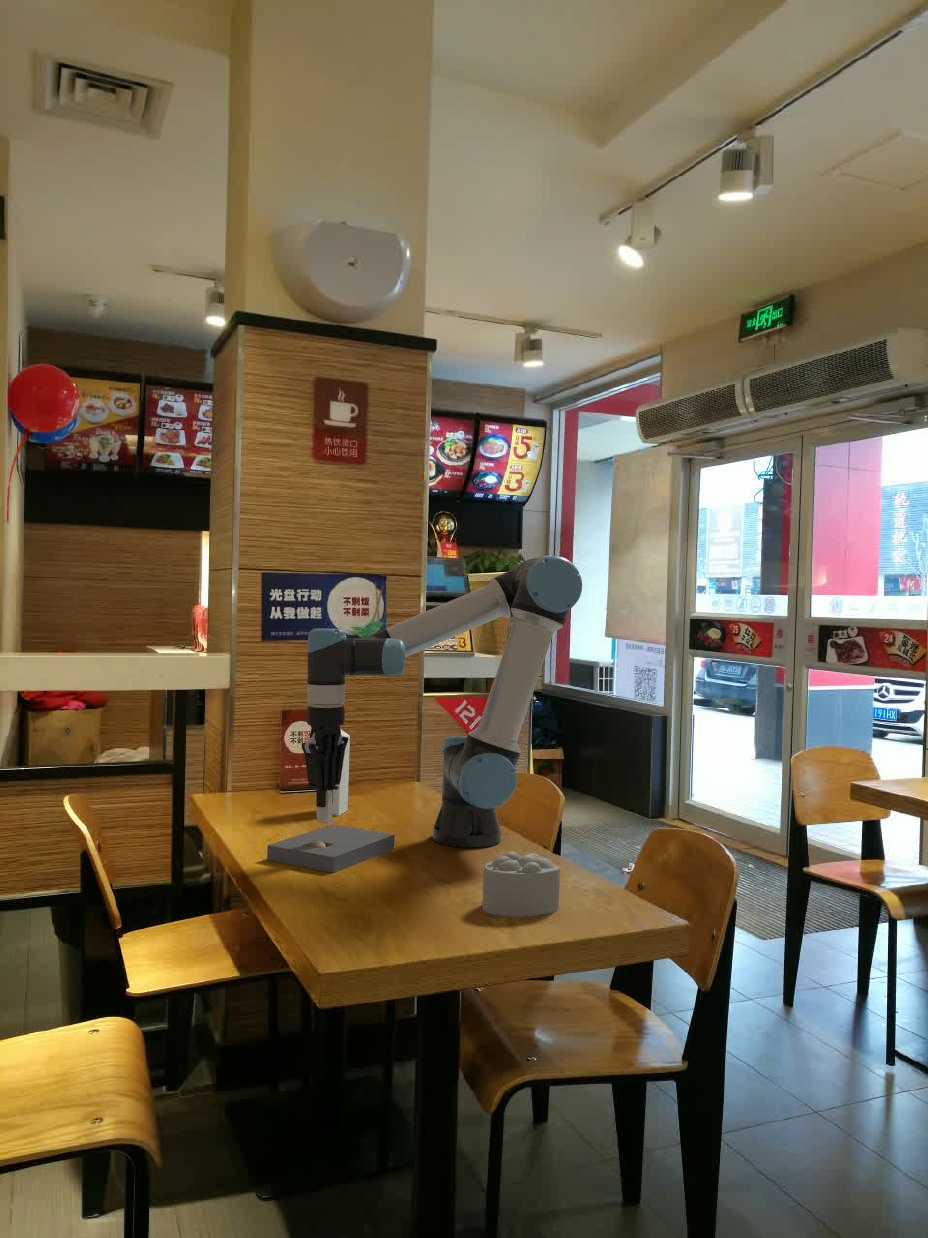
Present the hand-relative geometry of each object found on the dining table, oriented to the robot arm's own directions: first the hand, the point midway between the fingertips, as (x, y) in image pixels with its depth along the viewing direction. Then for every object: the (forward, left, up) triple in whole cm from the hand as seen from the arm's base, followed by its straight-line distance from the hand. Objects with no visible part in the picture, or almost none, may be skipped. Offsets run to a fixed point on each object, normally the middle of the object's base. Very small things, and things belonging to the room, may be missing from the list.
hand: (324, 822), depth 188 cm
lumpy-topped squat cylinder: (-46, +6, -8) cm, 47 cm away
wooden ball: (+1, +1, -6) cm, 6 cm away
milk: (+23, -36, -8) cm, 43 cm away
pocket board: (0, -4, -7) cm, 8 cm away
